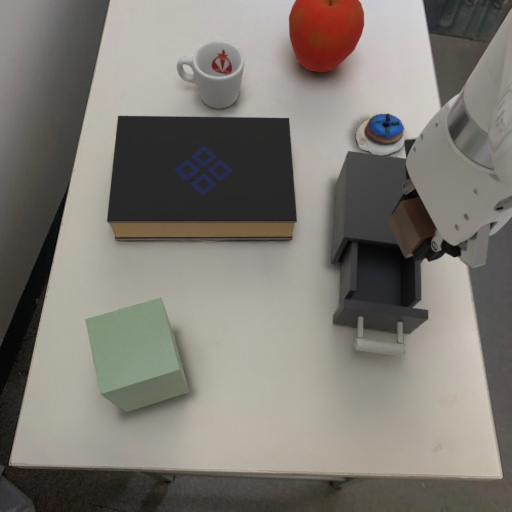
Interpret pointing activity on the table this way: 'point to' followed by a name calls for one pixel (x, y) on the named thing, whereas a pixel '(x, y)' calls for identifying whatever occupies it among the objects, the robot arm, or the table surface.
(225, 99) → the cup
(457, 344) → the table surface
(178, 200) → the book
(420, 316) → the drawer
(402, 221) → the block
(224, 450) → the table surface
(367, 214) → the cabinet
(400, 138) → the dessert
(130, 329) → the block
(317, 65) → the apple
